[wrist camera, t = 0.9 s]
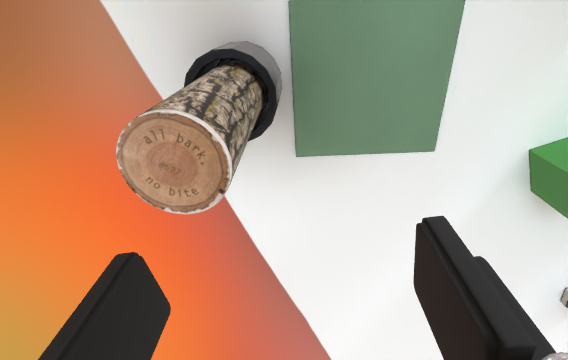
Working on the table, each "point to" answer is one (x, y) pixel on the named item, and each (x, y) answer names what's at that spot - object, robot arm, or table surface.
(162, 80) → the table surface
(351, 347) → the table surface
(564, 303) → the vintage mobile phone
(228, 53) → the pen pot
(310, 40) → the mat
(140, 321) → the robot arm
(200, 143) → the paper tube
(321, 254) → the table surface
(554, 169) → the hardback book
